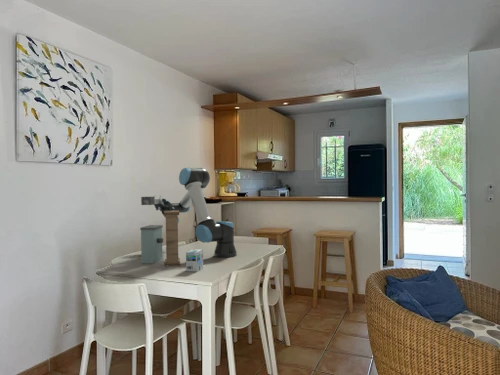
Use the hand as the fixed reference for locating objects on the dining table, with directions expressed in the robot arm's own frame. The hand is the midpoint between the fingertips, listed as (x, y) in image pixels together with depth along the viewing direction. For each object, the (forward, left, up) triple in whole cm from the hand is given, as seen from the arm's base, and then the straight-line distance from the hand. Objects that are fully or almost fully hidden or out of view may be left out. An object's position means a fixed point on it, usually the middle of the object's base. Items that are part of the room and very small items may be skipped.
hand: (157, 197), depth 247 cm
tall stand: (-16, +16, -40) cm, 46 cm away
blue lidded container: (-1, +10, -40) cm, 41 cm away
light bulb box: (-35, +32, -41) cm, 62 cm away
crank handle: (0, +4, -4) cm, 6 cm away
